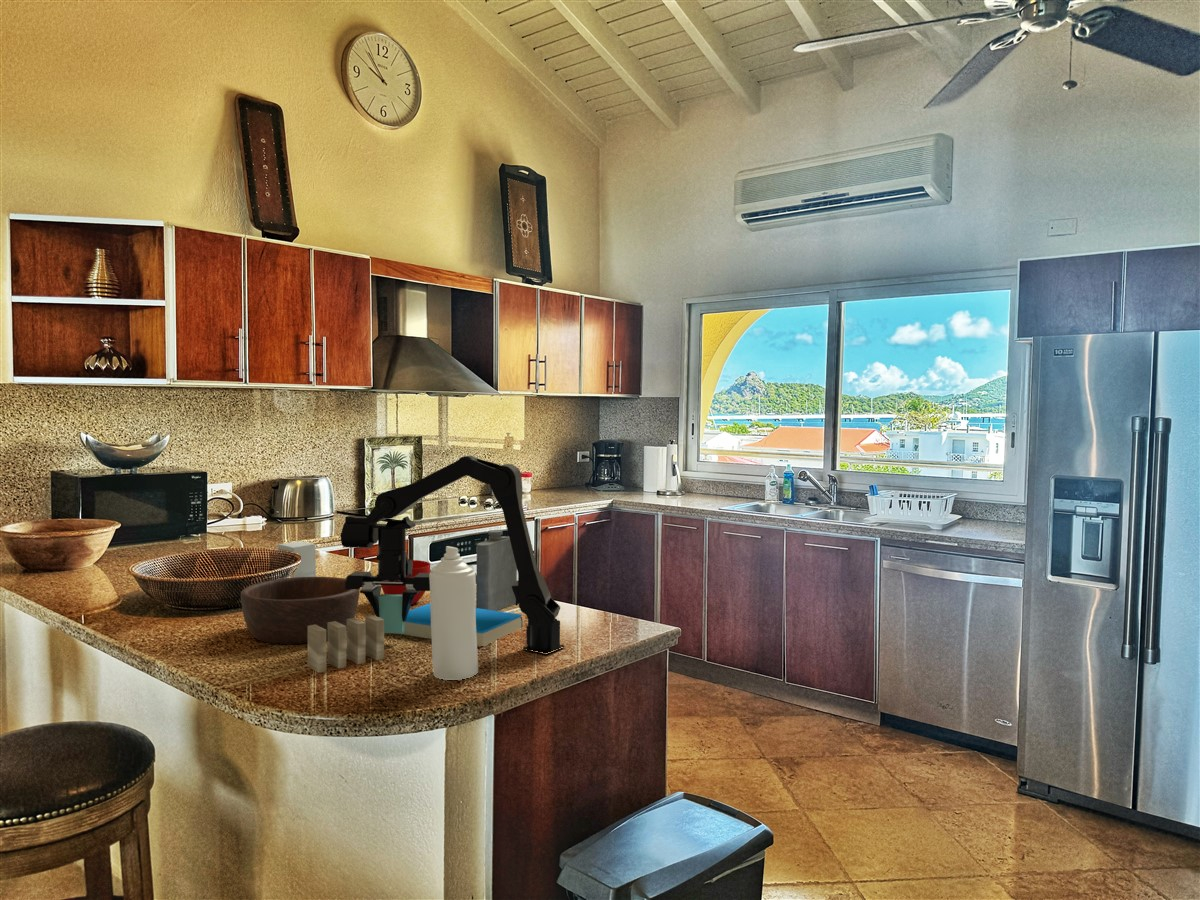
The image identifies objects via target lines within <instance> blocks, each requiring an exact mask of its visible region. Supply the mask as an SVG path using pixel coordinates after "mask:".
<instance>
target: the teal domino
mask: <svg viewBox="0 0 1200 900" xmlns="http://www.w3.org/2000/svg"><path fill="white" fill-rule="evenodd" d="M379 618H381V619H384V634H398V633H403V632H404V622H403V621H402V595H394V594H384V593H380V596H379Z"/></svg>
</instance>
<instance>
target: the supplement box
mask: <svg viewBox="0 0 1200 900" xmlns="http://www.w3.org/2000/svg"><path fill="white" fill-rule="evenodd" d="M278 550H279V551H288V552H293V553H298V554H299V555H300V556H301V562H300V564H299V566H298V568H297V569H296V571H295V573H294V574H293V576H292V578H295V577H317V575H316V574H317V573H316V571H317V570H316V569H317V565H316V564H317V563H316V561H317V559H316V557H317V555H316V553H317V552H316V544H315V543H312V542H307V541H302V540H299V541H294V542H293V541H292V542H286V543H279V544H277V551H278Z"/></svg>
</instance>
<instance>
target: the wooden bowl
mask: <svg viewBox="0 0 1200 900" xmlns="http://www.w3.org/2000/svg"><path fill="white" fill-rule="evenodd" d="M345 579H346V578H344V577H343V578H342V577H335V576H316V577H295V578H284V579H278V578H277V579H271V580H265V581H261V582H258V583H253V584H251V585H249V586H247V587H245V588H243V590H241V592H240V603H241V610H242V614H243V619H244V622H245V625H246V627H247V629H248V631H249V632H250V633H251V635H252V636H253V637H254V639H257V640H258V641H260V640H261V641H260V642H263V641H265V642H264V643H267V642H270V643H269V644H275V643H280V644H279V645H296V644H297V645H299V644H300V645H301V644H308V626H310V625H315V624H316V625H318V626H320V627H322V628H324V629H326V641H328V622H333V621H336V622H338V623H340V624H342V625H345V626H346V632H347V619H351V618H355V617H356V614H357V610H358V606H359V600H360V599H359V598H360V594H361V593H360V590H361V588H360V589H345Z"/></svg>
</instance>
